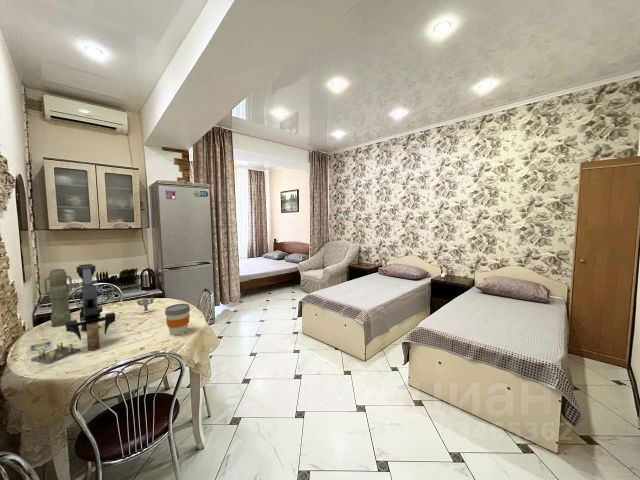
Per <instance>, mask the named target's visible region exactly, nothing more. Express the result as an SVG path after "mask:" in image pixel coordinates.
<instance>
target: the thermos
mask: <svg viewBox="0 0 640 480" xmlns="http://www.w3.org/2000/svg"><path fill="white" fill-rule="evenodd" d="M72 279H73V277H71V276H70V275H67V271H66V270H65V269H63V268H57V269H52V270H50V272H49V274H48V277H46V278H45V279H44V280H43V281H44V291H45V292H44V293H45V295H46V296H48V297H49V299H50V300H49V301H50V310H51V314H50V315H51V316H50V322H51V327H53V328H56V327H57V328H58V327H62V326H66V322H68V321H72V313H71V311H70V302H69V297H70V293H71V292H72V291H73V284H72V283H73V282H72ZM48 280H49V288H48V287H47V286H48V285H47V284H48V283H47V281H48ZM68 280H69V281H68ZM67 281H68V282H69V286H68V282H67Z"/></svg>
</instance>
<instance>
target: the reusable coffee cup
mask: <svg viewBox="0 0 640 480" xmlns="http://www.w3.org/2000/svg"><path fill="white" fill-rule="evenodd" d="M164 310H165V311H164V313H165V321H166V325H167V328H168V332H169V335H170V336H172V335H178V336H180V335H179V334H182V333H184V332H186V331H187V332H188V329H189V328H188V327H189V323H190V315H191V314H190V311H191V309H190V304H189V303H176V304H172V305H170V306H169V305H168V306H167V307H165V309H164ZM187 332H186V333H187ZM184 334H185V333H184ZM182 335H183V334H182Z"/></svg>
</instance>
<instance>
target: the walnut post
mask: <svg viewBox="0 0 640 480" xmlns="http://www.w3.org/2000/svg"><path fill="white" fill-rule="evenodd" d="M98 326H99V322H93V323H89V324H87V325H86V327H87V331H86V336H87V338H86V339H87V340H86V341H87V351H88V352H93V351H97V350H99V349H100V348H101V345H100V330H99V329H100V328H98Z"/></svg>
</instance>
